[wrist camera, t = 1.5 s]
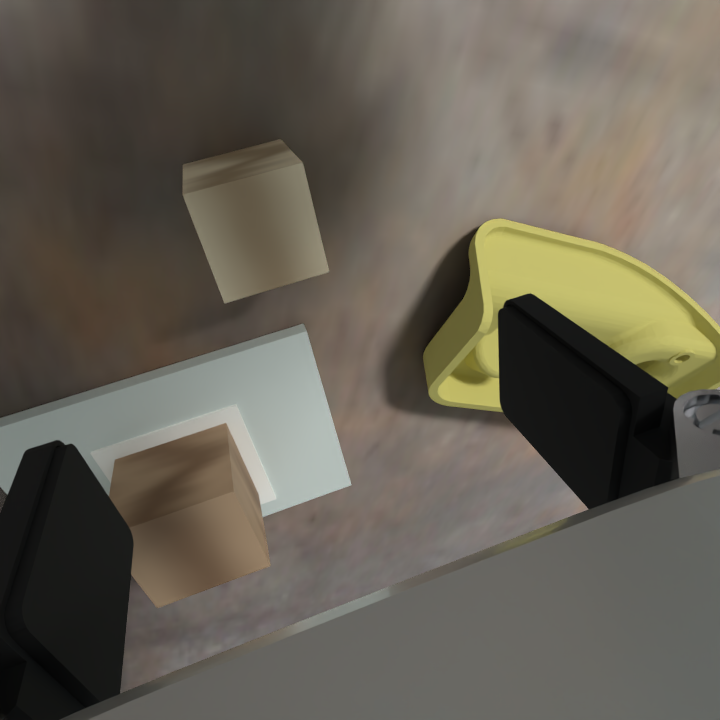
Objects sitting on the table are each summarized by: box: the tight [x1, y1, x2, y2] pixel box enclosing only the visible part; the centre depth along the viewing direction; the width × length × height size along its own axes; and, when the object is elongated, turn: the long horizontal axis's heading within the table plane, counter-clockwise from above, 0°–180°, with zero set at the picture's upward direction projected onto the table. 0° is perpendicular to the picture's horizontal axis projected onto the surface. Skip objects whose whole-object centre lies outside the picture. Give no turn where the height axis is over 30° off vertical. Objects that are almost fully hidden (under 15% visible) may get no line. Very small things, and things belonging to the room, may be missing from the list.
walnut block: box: [109, 423, 271, 608], centre depth 31 cm, size 7×7×6 cm
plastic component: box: [423, 219, 720, 412], centre depth 36 cm, size 20×8×10 cm
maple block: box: [183, 139, 329, 304], centre depth 24 cm, size 5×5×6 cm
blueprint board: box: [0, 324, 351, 517], centre depth 34 cm, size 20×14×1 cm
